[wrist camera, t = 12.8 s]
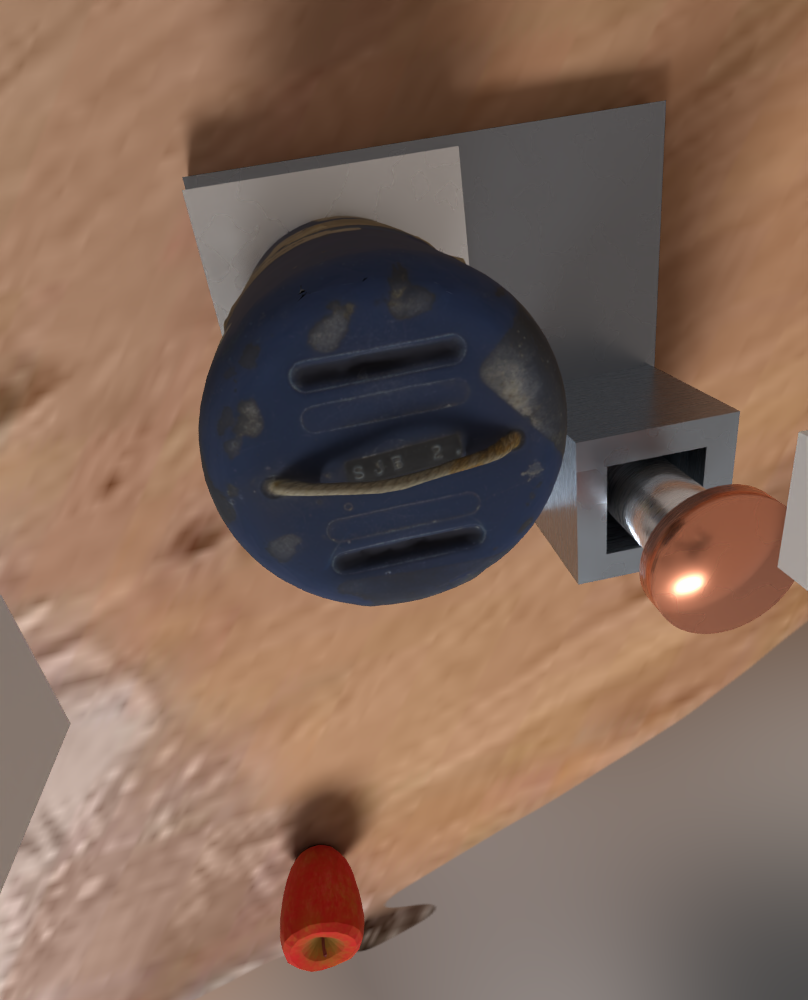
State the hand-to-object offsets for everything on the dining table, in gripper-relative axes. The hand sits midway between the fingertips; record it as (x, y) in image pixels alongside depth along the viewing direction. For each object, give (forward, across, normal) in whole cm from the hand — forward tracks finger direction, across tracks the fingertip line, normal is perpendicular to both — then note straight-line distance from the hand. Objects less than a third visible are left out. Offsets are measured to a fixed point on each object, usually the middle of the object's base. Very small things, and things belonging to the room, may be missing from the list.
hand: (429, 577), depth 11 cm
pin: (+18, +12, -9) cm, 24 cm away
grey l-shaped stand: (+24, +6, -3) cm, 25 cm away
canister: (+22, 0, 0) cm, 22 cm away
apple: (+25, -10, -42) cm, 50 cm away
